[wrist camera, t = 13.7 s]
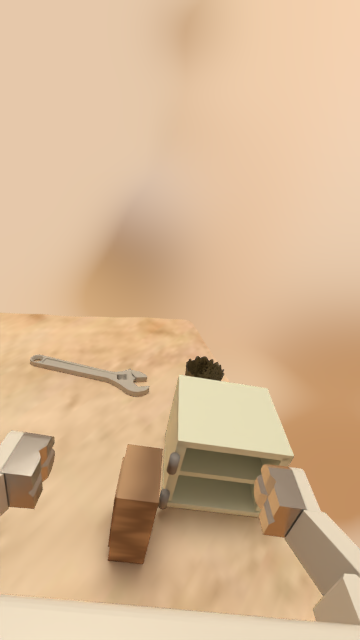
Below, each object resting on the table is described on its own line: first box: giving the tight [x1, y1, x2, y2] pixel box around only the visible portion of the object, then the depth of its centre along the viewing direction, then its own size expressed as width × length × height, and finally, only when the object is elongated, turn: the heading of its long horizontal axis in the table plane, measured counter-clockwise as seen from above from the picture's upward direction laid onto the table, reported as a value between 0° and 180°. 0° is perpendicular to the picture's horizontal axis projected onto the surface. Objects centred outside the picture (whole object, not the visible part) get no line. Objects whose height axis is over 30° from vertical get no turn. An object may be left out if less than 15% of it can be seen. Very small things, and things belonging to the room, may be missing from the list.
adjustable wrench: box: [30, 355, 149, 396], centre depth 60 cm, size 25×6×2 cm, turn 78°
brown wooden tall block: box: [108, 444, 163, 564], centre depth 32 cm, size 4×6×12 cm
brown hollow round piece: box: [185, 356, 224, 381], centre depth 57 cm, size 8×7×8 cm
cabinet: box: [158, 375, 294, 517], centre depth 41 cm, size 15×13×13 cm
